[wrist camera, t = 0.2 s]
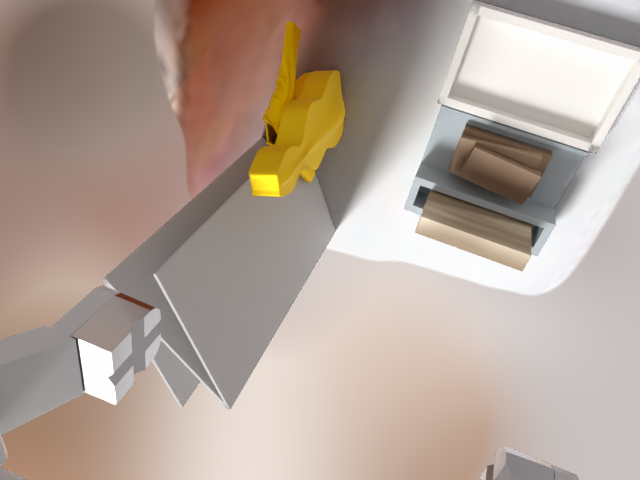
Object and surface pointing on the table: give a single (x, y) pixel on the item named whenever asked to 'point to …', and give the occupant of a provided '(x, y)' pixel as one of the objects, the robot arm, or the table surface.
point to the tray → (540, 76)
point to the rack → (442, 180)
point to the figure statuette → (297, 124)
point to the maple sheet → (476, 230)
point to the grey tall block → (225, 277)
